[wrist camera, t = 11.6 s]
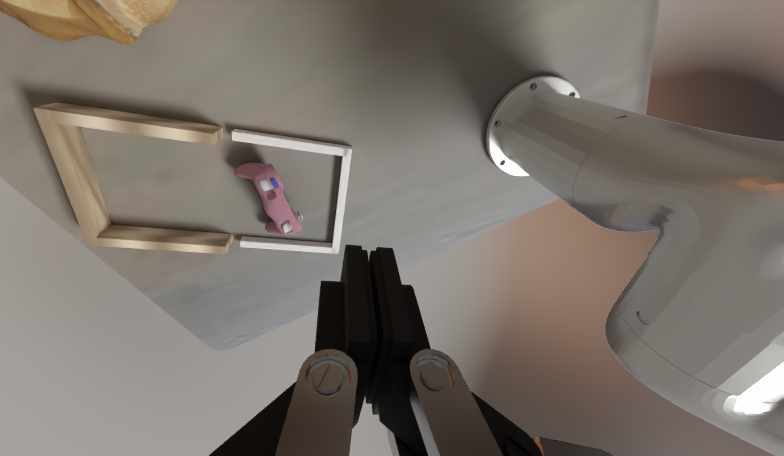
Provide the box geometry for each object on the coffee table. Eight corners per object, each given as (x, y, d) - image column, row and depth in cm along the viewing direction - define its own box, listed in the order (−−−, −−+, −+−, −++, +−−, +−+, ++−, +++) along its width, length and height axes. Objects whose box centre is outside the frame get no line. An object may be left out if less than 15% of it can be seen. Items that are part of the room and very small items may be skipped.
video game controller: (296, 216, 43) (313, 234, 38) (265, 230, 42) (280, 252, 36) (265, 151, 38) (281, 162, 33) (229, 165, 36) (240, 179, 31)
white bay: (351, 146, 37) (352, 149, 36) (338, 249, 45) (338, 253, 44) (234, 128, 34) (231, 131, 33) (242, 241, 42) (240, 246, 41)
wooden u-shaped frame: (222, 126, 34) (213, 134, 32) (232, 241, 42) (226, 254, 40) (58, 101, 31) (32, 107, 28) (103, 231, 39) (87, 245, 36)
